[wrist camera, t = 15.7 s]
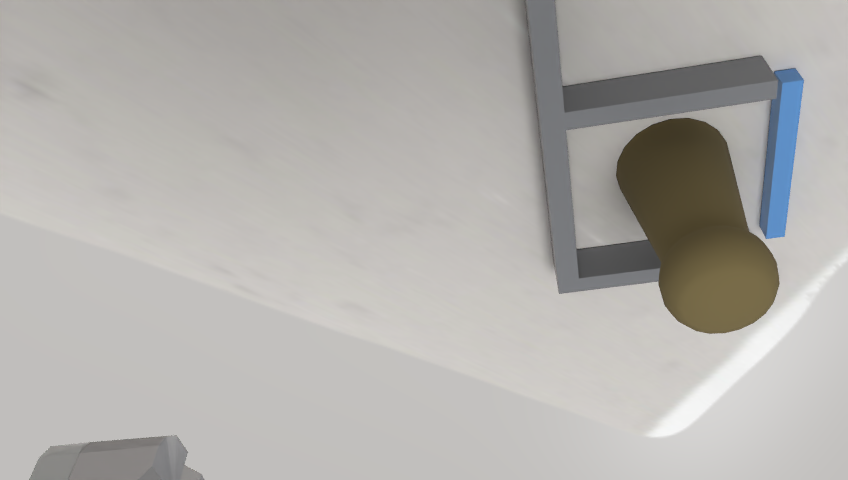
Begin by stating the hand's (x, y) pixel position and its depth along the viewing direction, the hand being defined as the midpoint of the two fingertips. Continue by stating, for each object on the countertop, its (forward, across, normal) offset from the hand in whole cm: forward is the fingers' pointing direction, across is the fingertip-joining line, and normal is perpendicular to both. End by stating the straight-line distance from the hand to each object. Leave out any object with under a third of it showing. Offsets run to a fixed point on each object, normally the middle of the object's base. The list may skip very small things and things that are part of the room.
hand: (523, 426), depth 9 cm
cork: (+31, -9, +19) cm, 38 cm away
